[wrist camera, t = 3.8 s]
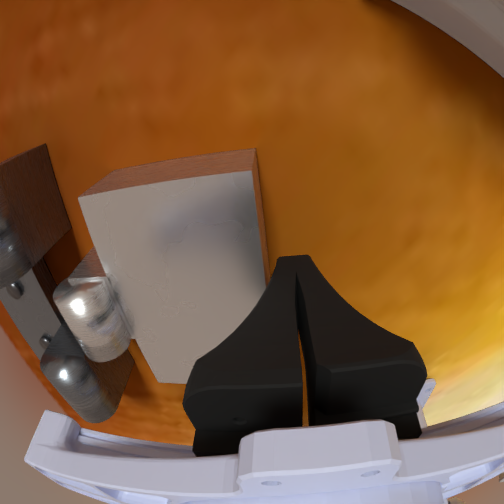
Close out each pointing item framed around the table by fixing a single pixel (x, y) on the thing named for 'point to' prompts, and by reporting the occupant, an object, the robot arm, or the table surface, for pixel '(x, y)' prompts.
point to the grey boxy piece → (169, 260)
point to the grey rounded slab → (467, 24)
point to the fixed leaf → (48, 287)
